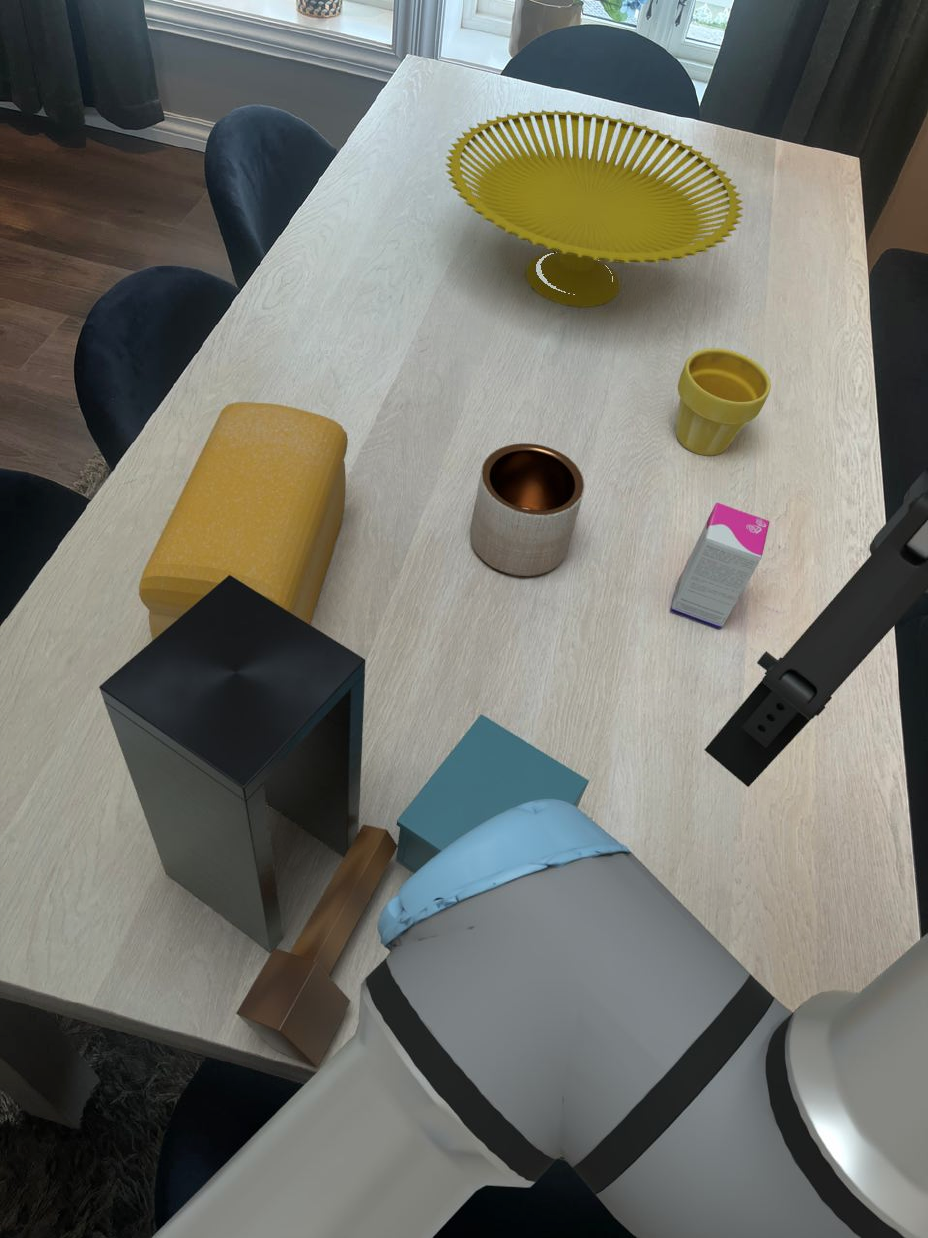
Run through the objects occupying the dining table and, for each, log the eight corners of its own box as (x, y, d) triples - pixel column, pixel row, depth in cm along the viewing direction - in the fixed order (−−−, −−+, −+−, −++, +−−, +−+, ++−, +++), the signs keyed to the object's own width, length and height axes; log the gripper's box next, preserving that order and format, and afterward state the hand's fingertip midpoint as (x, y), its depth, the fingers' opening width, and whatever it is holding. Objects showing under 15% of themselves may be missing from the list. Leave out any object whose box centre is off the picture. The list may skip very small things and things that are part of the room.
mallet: (274, 1050, 67) (316, 1068, 65) (235, 1013, 64) (279, 1030, 62) (382, 852, 77) (422, 862, 75) (354, 810, 74) (395, 820, 72)
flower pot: (757, 439, 117) (787, 376, 109) (717, 479, 112) (745, 415, 104) (688, 400, 120) (712, 336, 113) (646, 436, 115) (668, 371, 107)
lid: (510, 902, 68) (511, 898, 68) (395, 825, 71) (396, 820, 70) (587, 785, 75) (589, 780, 74) (480, 718, 78) (481, 713, 77)
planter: (448, 534, 101) (457, 469, 94) (518, 492, 106) (532, 428, 99) (518, 595, 97) (533, 532, 89) (587, 549, 102) (607, 485, 95)
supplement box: (722, 631, 97) (762, 558, 88) (668, 612, 98) (701, 537, 89) (732, 593, 100) (771, 519, 91) (679, 574, 101) (713, 499, 92)
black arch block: (271, 953, 72) (243, 789, 51) (165, 873, 75) (98, 686, 54) (358, 846, 78) (366, 659, 57) (257, 776, 81) (229, 573, 60)
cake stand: (376, 269, 131) (380, 163, 120) (545, 180, 153) (563, 83, 141) (608, 405, 118) (638, 301, 106) (757, 288, 139) (796, 190, 128)
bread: (233, 490, 102) (219, 378, 90) (348, 511, 102) (350, 402, 90) (155, 668, 86) (126, 562, 75) (290, 693, 86) (284, 591, 75)
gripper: (1054, 275, 46) (813, 579, 60) (893, 383, 29) (611, 770, 43) (1200, 358, 43) (913, 653, 58) (1117, 528, 26) (741, 886, 41)
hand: (783, 704), depth 50 cm, fingers open, 13 cm apart
